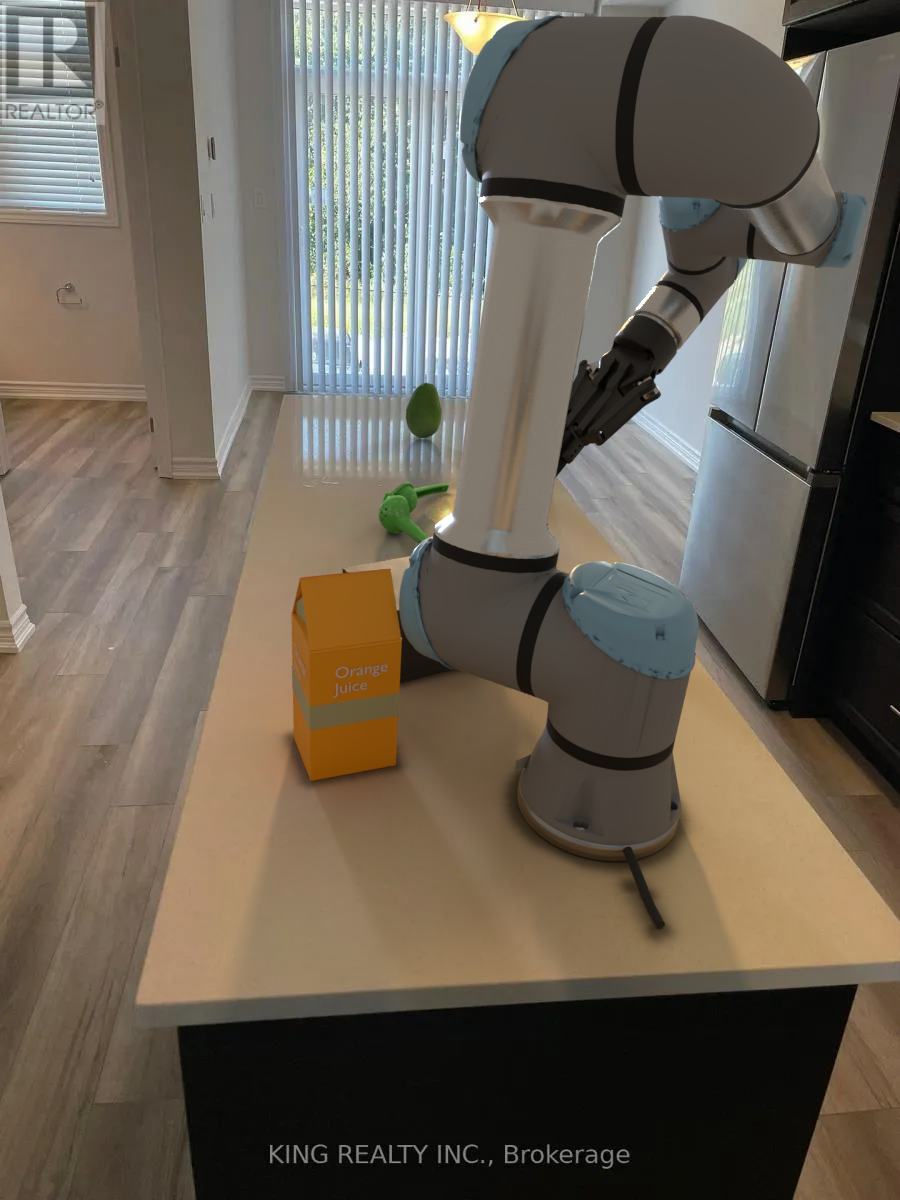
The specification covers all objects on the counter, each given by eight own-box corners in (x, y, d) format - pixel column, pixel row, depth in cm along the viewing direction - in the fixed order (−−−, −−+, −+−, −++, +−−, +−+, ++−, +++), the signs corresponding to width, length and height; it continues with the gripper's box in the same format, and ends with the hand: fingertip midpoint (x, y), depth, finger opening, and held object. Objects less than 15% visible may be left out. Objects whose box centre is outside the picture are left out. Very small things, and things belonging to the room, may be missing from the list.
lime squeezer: (451, 568, 129) (454, 529, 126) (372, 564, 129) (373, 525, 126) (449, 493, 159) (451, 460, 156) (385, 489, 159) (386, 456, 156)
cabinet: (441, 615, 116) (445, 549, 111) (492, 659, 106) (499, 589, 102) (341, 637, 109) (342, 567, 104) (387, 685, 99) (389, 612, 95)
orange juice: (397, 765, 86) (405, 585, 77) (309, 782, 83) (308, 596, 74) (374, 722, 92) (379, 551, 84) (292, 736, 89) (288, 560, 80)
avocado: (446, 437, 192) (450, 383, 187) (427, 444, 186) (430, 388, 181) (417, 430, 196) (419, 376, 190) (397, 437, 190) (399, 382, 184)
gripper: (705, 363, 107) (589, 511, 105) (628, 344, 116) (521, 479, 114) (684, 321, 102) (562, 475, 100) (606, 304, 111) (493, 445, 109)
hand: (540, 477), depth 107 cm, fingers closed
